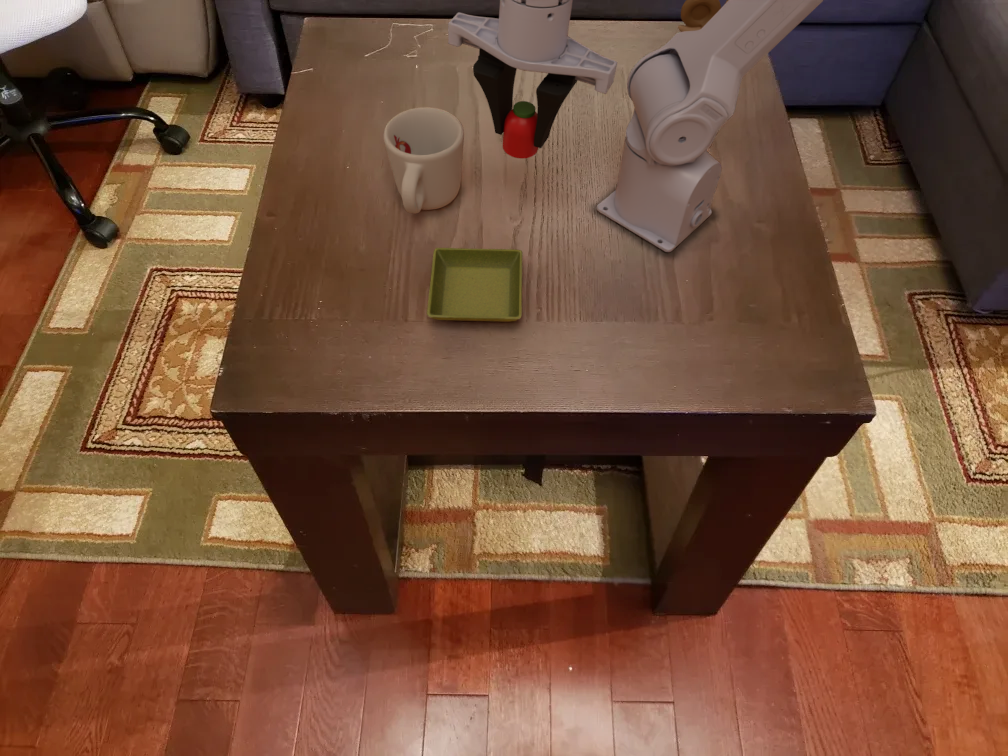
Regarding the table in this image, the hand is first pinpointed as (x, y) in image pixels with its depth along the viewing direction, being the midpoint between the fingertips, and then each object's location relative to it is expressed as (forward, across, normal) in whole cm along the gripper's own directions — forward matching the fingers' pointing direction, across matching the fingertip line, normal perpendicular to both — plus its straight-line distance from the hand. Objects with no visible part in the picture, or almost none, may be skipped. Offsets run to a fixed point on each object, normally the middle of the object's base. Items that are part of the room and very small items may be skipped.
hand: (522, 134), depth 69 cm
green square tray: (+11, -1, +11) cm, 16 cm away
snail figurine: (+9, -10, -32) cm, 35 cm away
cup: (+11, +9, +2) cm, 15 cm away
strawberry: (+1, 0, 0) cm, 1 cm away
